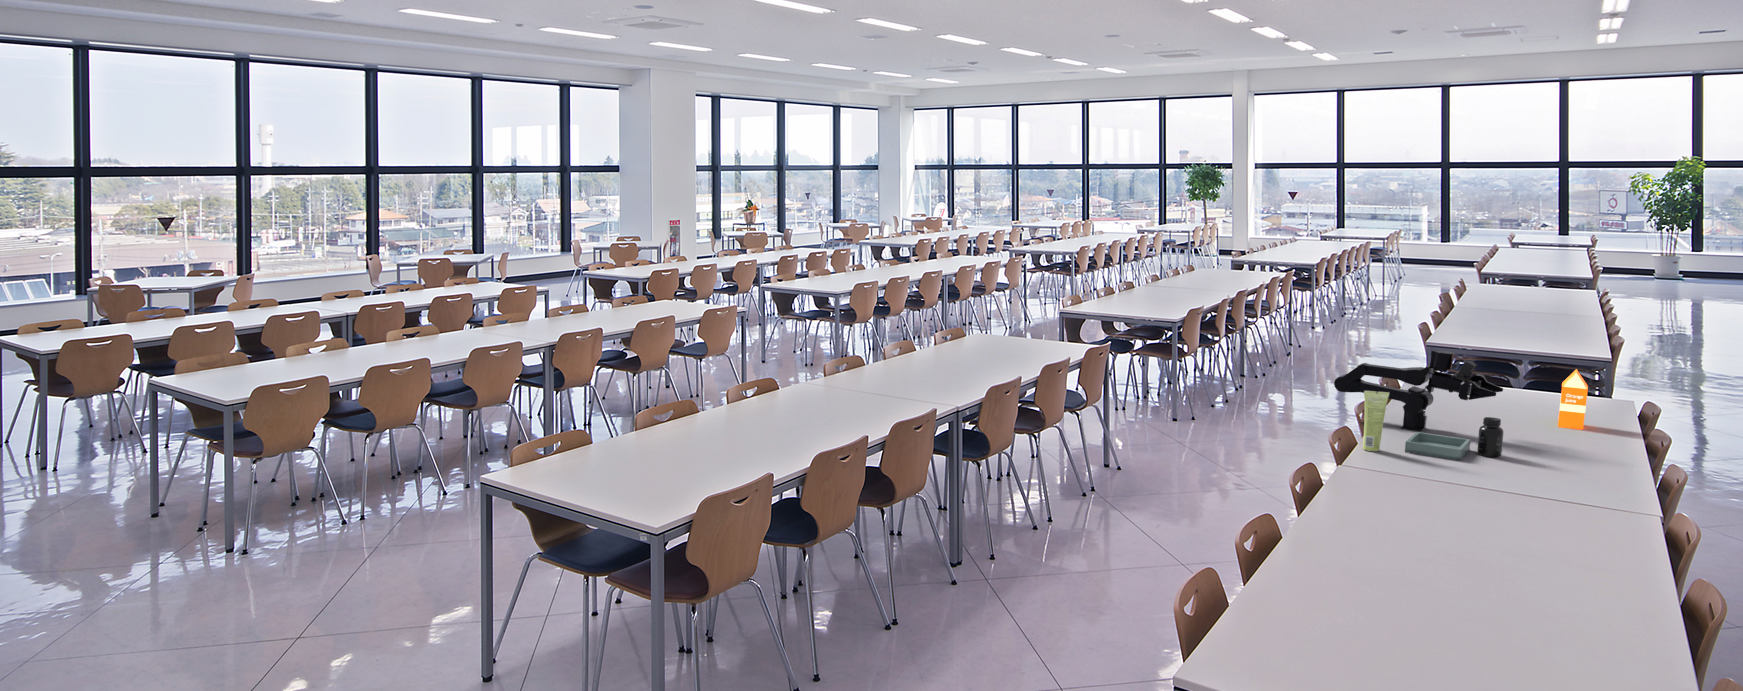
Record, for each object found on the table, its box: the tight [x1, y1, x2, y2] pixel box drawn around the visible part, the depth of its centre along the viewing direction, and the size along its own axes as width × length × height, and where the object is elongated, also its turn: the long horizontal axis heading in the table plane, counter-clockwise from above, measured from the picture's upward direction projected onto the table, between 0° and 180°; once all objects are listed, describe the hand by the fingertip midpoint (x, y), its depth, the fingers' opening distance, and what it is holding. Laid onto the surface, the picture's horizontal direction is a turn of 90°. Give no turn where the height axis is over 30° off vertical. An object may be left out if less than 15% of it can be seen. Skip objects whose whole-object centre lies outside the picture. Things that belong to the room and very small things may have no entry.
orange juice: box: [1557, 368, 1589, 431], centre depth 383 cm, size 8×9×20 cm
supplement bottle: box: [1476, 416, 1504, 459], centre depth 345 cm, size 7×7×12 cm
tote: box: [1404, 431, 1472, 461], centre depth 351 cm, size 16×16×4 cm
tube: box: [1362, 391, 1389, 452], centre depth 351 cm, size 6×5×20 cm
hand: (1499, 392), depth 361 cm, fingers open, 9 cm apart
